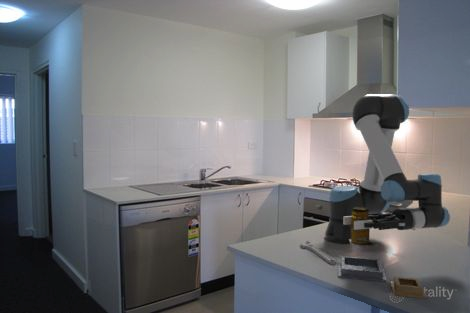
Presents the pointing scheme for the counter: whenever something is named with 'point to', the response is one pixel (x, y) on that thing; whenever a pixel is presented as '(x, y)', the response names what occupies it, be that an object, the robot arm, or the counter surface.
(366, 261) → the large collar
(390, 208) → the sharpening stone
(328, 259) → the adjustable wrench
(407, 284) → the small brown compartment box
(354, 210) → the condiment
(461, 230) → the counter surface
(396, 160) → the robot arm
